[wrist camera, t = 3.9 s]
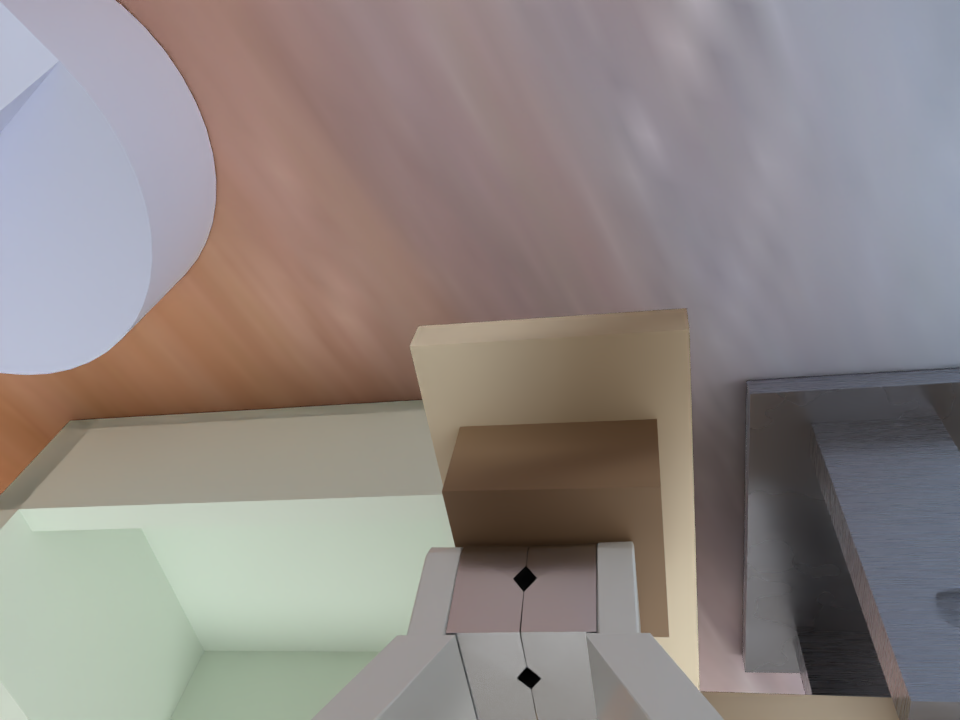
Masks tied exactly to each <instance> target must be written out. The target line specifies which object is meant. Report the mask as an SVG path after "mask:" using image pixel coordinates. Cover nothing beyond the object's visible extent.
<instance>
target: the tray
mask: <svg viewBox="0 0 960 720" xmlns="http://www.w3.org/2000/svg"><path fill="white" fill-rule="evenodd" d="M442 489H443V483H442V479H441V475H440V471H439V467H438V463H437V458H436V454H435V450H434V446H433V442H432V438H431V433H430V429H429V425H428V421H427V417H426V413H425V409H424V404H423V400H412V401H395V402H378V403H361V404H344V405H326V406H309V407H292V408H275V409H258V410H241V411H224V412H207V413H190V414H173V415H156V416H139V417H122V418H105V419H88V420H71V421H69V422H68V423H67V424H66V425H65V426H64V427H63V429H62V430H61V431H60V432H59V433H58V434H57V435H56V436H55V437H54V438H53V439H52V440H51V441H50V442H49V444H48V445H47V446H46V447H45V448H44V449H43V450H42V451H41V452H40V453H39V454H38V455H37V456H36V457H35V459H34V460H33V461H32V462H31V463H30V464H29V465H28V466H27V467H26V468H25V469H24V470H23V471H22V472H21V473H20V475H19V476H18V477H17V478H16V479H15V480H14V481H13V482H12V483H11V484H10V485H9V486H8V487H7V488H6V490H5V491H4V492H3V493H2V494H1V495H0V720H311V719H312V718H313V717H314V716H315V715H316V714H317V713H318V712H319V711H320V710H321V709H322V708H323V707H324V706H326V705H327V704H328V703H329V702H330V701H331V700H332V699H333V698H334V697H335V696H336V695H337V694H338V693H339V692H340V691H341V690H342V689H343V688H344V687H345V686H346V685H347V684H348V683H349V682H350V681H351V680H352V679H353V678H354V677H355V676H356V675H357V674H358V673H359V672H360V671H361V670H362V669H363V668H364V667H365V666H366V665H367V664H368V663H369V662H370V661H371V660H372V659H374V658H375V657H376V656H377V655H378V654H379V653H380V652H381V651H382V650H383V649H384V648H385V647H386V646H387V645H388V644H389V643H390V642H391V641H392V640H393V639H394V638H395V637H396V636H397V635H407V632H408V628H409V624H410V619H411V615H412V611H413V607H414V603H415V599H416V595H417V591H418V586H419V582H420V578H421V574H422V570H423V566H424V562H425V557H426V555H427V553H428V552H429V550H430V549H431V547H455V544H454V540H453V536H452V532H451V528H450V523H449V519H448V515H447V511H446V507H445V503H444V499H443V495H442Z"/></svg>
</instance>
